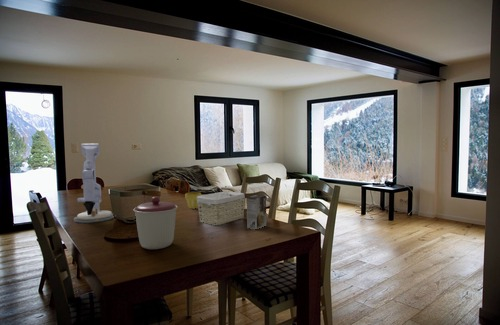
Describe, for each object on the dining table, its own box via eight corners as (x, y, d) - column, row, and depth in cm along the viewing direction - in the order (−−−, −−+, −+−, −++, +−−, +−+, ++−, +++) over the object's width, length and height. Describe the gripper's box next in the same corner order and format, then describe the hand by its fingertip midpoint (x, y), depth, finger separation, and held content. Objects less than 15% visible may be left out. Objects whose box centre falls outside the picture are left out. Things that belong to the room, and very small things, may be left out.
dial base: (72, 217, 196) (72, 214, 196) (112, 212, 207) (112, 210, 207) (74, 225, 177) (74, 222, 177) (118, 219, 189) (118, 217, 188)
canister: (136, 255, 128) (134, 201, 127) (132, 242, 145) (131, 195, 144) (182, 249, 135) (181, 198, 134) (174, 237, 152) (173, 192, 151)
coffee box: (256, 224, 175) (256, 194, 174) (266, 226, 171) (266, 195, 170) (246, 228, 167) (246, 196, 166) (257, 230, 164) (256, 197, 163)
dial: (80, 214, 198) (79, 207, 198) (112, 212, 204) (112, 205, 204) (75, 221, 181) (74, 213, 181) (110, 218, 187) (110, 210, 187)
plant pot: (186, 206, 226) (185, 192, 225) (201, 206, 227) (201, 192, 226) (184, 209, 216) (184, 194, 215) (200, 209, 217) (200, 194, 216)
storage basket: (216, 227, 171) (215, 198, 170) (195, 222, 181) (195, 195, 181) (246, 218, 189) (246, 193, 188) (226, 214, 200) (226, 190, 199)
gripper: (73, 191, 183) (73, 215, 184) (95, 192, 180) (95, 216, 181) (82, 189, 190) (83, 212, 191) (103, 190, 187) (104, 214, 187)
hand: (89, 214), depth 186 cm, fingers closed, pressing on dial
